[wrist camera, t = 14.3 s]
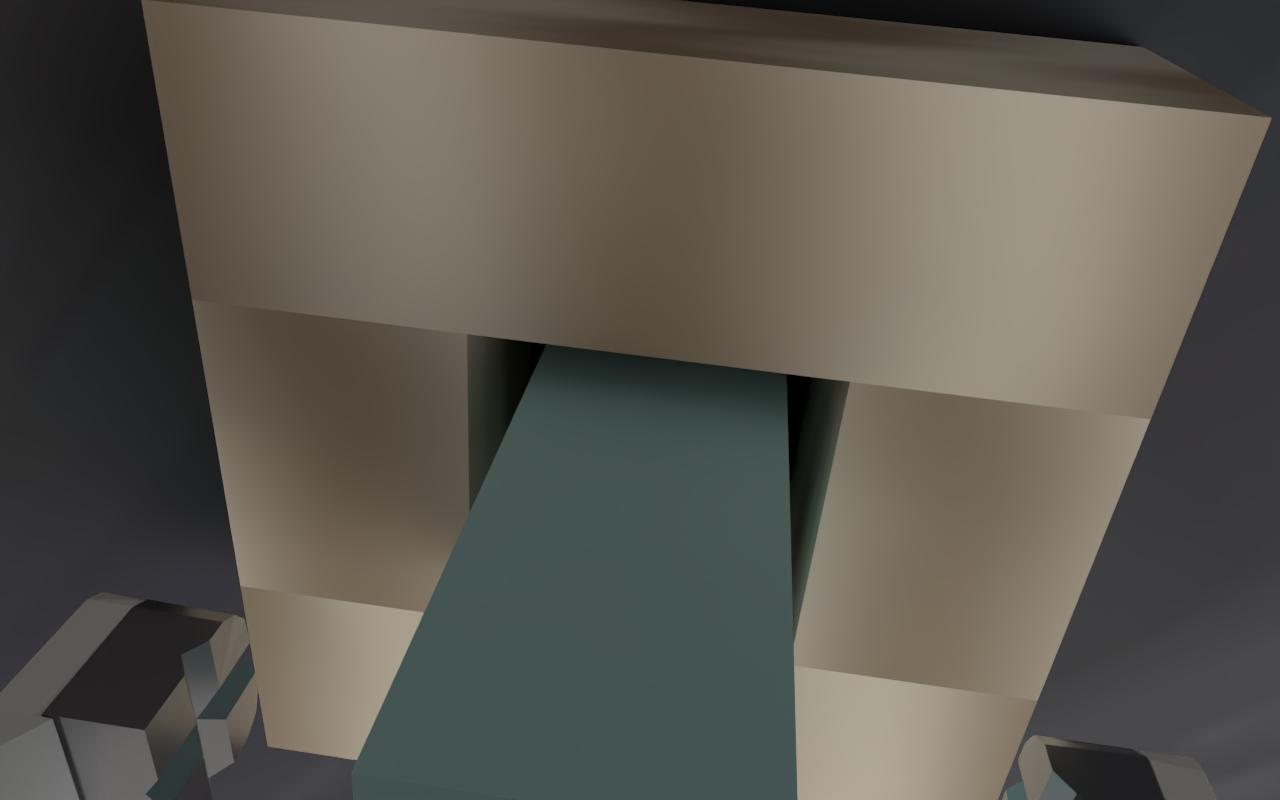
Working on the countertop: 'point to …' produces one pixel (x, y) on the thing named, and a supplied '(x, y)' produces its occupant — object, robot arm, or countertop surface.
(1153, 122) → the bore block
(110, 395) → the countertop surface
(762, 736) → the square bit
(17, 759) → the robot arm
